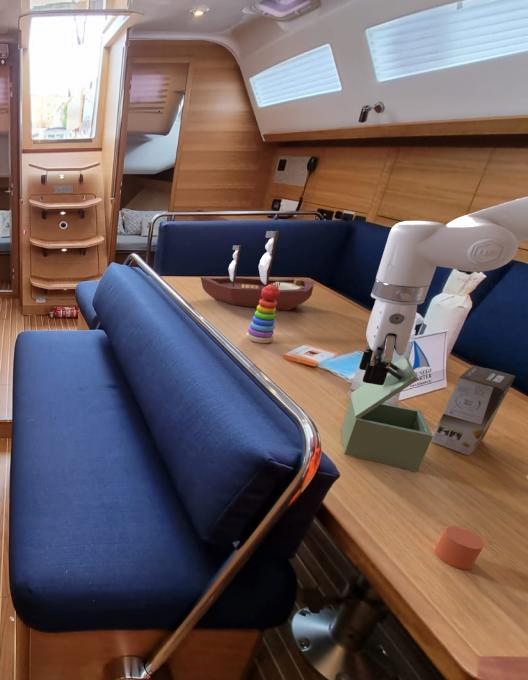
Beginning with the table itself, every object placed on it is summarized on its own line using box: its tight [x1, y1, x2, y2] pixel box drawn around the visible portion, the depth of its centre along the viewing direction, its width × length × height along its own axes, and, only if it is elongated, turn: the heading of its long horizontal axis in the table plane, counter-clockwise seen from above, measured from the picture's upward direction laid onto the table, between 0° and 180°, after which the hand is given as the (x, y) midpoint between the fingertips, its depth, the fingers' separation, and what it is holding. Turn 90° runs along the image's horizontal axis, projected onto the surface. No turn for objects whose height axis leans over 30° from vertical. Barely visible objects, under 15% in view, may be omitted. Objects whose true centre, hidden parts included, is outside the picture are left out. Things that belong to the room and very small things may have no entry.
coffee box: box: [430, 364, 516, 456], centre depth 86 cm, size 9×6×16 cm
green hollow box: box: [340, 398, 433, 473], centre depth 87 cm, size 12×10×9 cm
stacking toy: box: [245, 285, 280, 344], centre depth 136 cm, size 8×8×19 cm
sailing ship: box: [200, 230, 315, 312], centre depth 165 cm, size 18×40×29 cm, turn 63°
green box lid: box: [350, 353, 419, 419], centre depth 84 cm, size 12×10×5 cm
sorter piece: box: [434, 525, 485, 570], centre depth 64 cm, size 4×4×4 cm
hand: (370, 375), depth 84 cm, fingers closed on green box lid, 5 cm apart
